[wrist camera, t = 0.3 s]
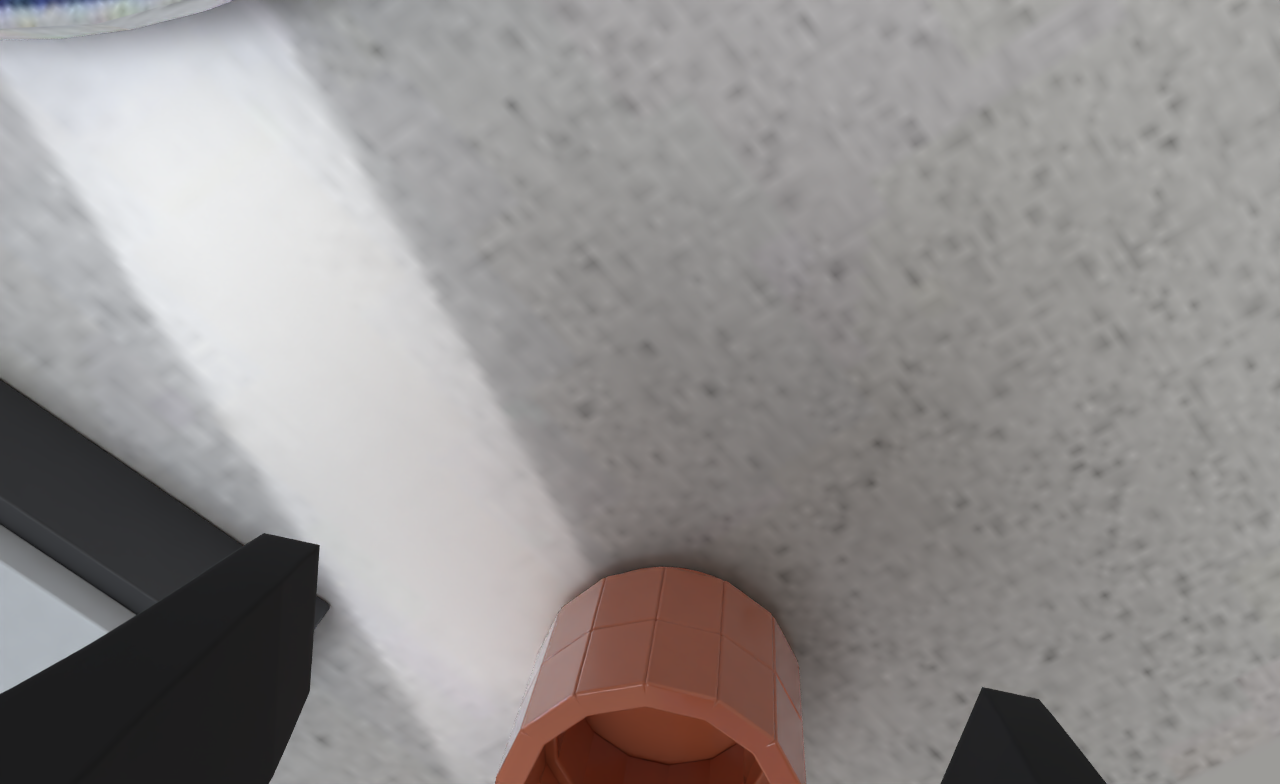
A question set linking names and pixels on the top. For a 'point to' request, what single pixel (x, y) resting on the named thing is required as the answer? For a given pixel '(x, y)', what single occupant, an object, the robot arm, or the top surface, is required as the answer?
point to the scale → (83, 541)
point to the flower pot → (660, 689)
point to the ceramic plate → (89, 16)
